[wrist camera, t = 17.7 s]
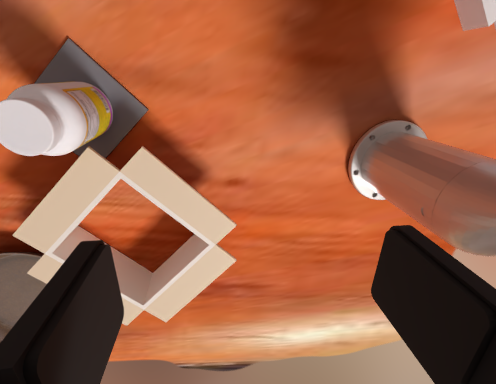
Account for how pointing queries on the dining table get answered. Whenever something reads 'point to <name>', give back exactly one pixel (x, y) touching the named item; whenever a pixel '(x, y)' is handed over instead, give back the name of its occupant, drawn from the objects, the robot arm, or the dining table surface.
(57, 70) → the coaster mat
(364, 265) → the dining table surface
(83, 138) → the supplement bottle
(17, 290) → the plant saucer
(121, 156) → the dining table surface
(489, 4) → the pixel art tile
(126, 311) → the carton
